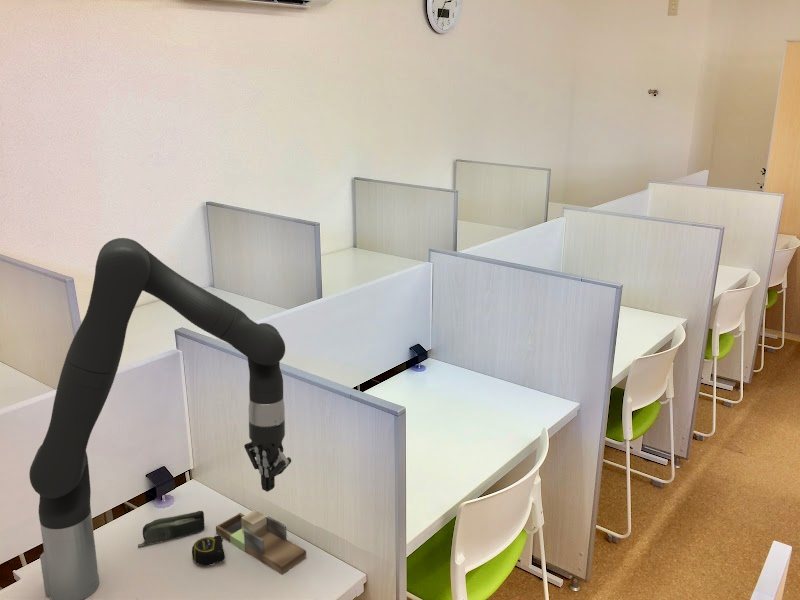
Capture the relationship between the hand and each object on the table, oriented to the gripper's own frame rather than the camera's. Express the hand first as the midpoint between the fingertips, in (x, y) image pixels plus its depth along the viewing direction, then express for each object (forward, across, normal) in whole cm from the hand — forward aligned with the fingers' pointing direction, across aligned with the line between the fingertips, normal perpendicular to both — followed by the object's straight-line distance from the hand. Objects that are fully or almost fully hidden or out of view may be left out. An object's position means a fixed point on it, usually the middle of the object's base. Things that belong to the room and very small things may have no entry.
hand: (268, 489), depth 149 cm
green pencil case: (+17, -21, -11) cm, 29 cm away
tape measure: (+17, -8, -9) cm, 21 cm away
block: (+14, -6, +1) cm, 15 cm away
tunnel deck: (+16, -3, 0) cm, 16 cm away
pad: (+16, -7, 0) cm, 17 cm away
